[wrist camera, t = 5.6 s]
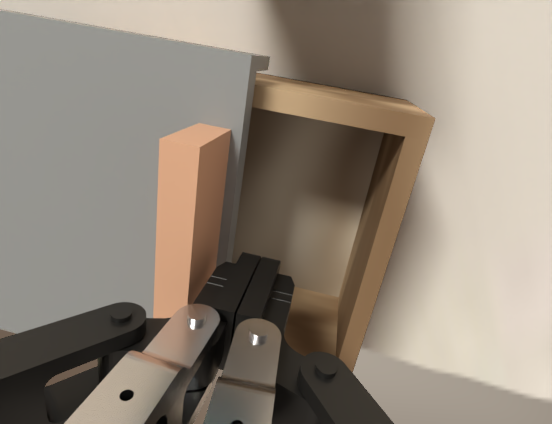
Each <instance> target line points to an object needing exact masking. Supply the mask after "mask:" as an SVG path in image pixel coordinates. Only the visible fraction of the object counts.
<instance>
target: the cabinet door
mask: <svg viewBox="0 0 552 424" xmlns="http://www.w3.org/2000/svg"><path fill="white" fill-rule="evenodd" d="M269 59H270V57H268V56H263V55H257V54H251V53H246V52H240V51H235V50H229V49H223V48H218V47H212V46H206V45H201V44H195V43H189V42H184V41H178V40H172V39H167V38H161V37H155V36H150V35H144V34H139V33H133V32H127V31H122V30H116V29H110V28H105V27H99V26H93V25H88V24H82V23H76V22H71V21H65V20H59V19H54V18H48V17H43V16H37V15H31V14H26V13H20V12H14V11H9V10H3V9H0V329H2V330H6V331H9V332H13V333H16V334H18V333H21V332H24V331H27V330H31V329H34V328H37V327H40V326H43V325H47V324H50V323H53V322H56V321H59V320H63V319H66V318H69V317H72V316H75V315H79V314H82V313H85V312H88V311H92V310H95V309H98V308H101V307H104V306H108V305H111V304H114V303H119V302H131V303H135V304H138V305H140V306H142V307H143V308H144V309H145V311H146V318H171V317H172V316H173V315H174V314H175V313H176V312H177V311H178V310H179V309H180V308H182V307H184V306H186V305H190V304H193V302H194V301H195V299H196V298H197V296H198V295H199V293H200V292H201V290H202V288H203V287H204V285H205V284H206V283H207V281H208V279H209V278H210V277H211V275H212V273H213V272H214V270H215V269H216V267H217V266H219V265H221V264H223V263H224V262H231V263H232V256H233V248H234V240H235V233H236V225H237V217H238V210H239V202H240V194H241V187H242V179H243V171H244V164H245V156H246V148H247V141H248V133H249V125H250V118H251V110H252V102H253V95H254V87H255V79H256V72H257V71H262V70H268V66H269ZM217 372H218V370H217ZM216 374H217V373H216ZM215 376H216V375H215ZM214 379H215V377H214ZM214 379H213V381H214ZM212 383H213V382H212Z"/></svg>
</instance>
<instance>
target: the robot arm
mask: <svg viewBox="0 0 552 424" xmlns="http://www.w3.org/2000/svg"><path fill="white" fill-rule="evenodd" d="M280 265H281V261H280V260H276V259H271V258H267V257H262V258H261V256H258V255H253V254H249V253H245V252H242V254H241V255H240V257H239V259H238V261H237V262H236V264H235V263H231V262H224V263H223V264H221V265H219V266H217V267H216V269H215V270H214V272H213V273H212V275H211V277H210V278H209V279H208V281H207V283H206V284H205V285H204V287H203V288H202V290H201V292H200V293H199V295H198V296H197V298H196V299H195V301H194V302H193V304H190V305H186V306H184V307H182V308H180V309H179V310H178V311H177V312H176V313H175V314H174V315H173V316H172V317H171V318H146V311H145V309H144V308H143V307H142V306H140V305H138V304H135V303H131V302H119V303H114V304H111V305H108V306H104V307H101V308H98V309H95V310H92V311H88V312H85V313H82V314H79V315H75V316H72V317H69V318H66V319H63V320H59V321H56V322H53V323H50V324H47V325H43V326H40V327H37V328H34V329H31V330H27V331H24V332H21V333H18V334H15V335H12V336H8V337H5V338H2V339H0V424H193V423H194V421H195V419H196V417H197V415H198V414H199V412H200V410H201V408H202V406H203V404H204V402H205V400H206V398H207V396H208V394H209V393H210V391H211V388H212V382H213V379H214V377H215V375H216V373H217V370H218V369H222V370H223V373H222V376H221V377H218V380H217V382H216V385H215V388H214V392H213V395H212V398H211V401H210V404H209V408H208V410H207V414H206V417H205V420H204V423H203V424H394V423H393V422H392V421H391V420H390V418H389V417H388V416H387V415H386V413H385V412H384V411H383V410H382V409H381V407H380V406H379V405H378V404H377V402H376V401H375V400H374V399H373V398H372V396H371V395H370V394H369V393H368V392H367V390H366V389H365V388H364V387H363V385H362V384H361V383H360V382H359V380H358V379H357V378H356V377H355V376H354V375H353V373H352V372H351V371H350V369H349V368H348V367H347V366H346V365H345V363H344V362H343V361H342V360H340V359H339V358H338V357H336V356H334V355H332V354H329V353H326V352H312V353H309V354H307V355H306V356H303V355H301V354H299V353H298V352H296V351H295V350H293V349H292V348H291V347H290V346H289V345H288V343H287V342H286V340H285V337H284V333H285V329H286V325H287V321H288V316H289V311H290V307H291V302H292V297H293V292H294V287H295V285H294V282H293V280H292V277H291V276H287V275H282V274H279V270H280ZM95 359H98V366H97V367H94V368H92V369H89V370H87V371H84V372H82V373H79V374H77V375H75V376H72V377H70V378H67V379H65V380H63V381H60V382H57V383H55V384H53V385H50V386H46V387H45V385H46V383H47V382H48V381H49V380H50V379H51V378H52V377H54V376H55V375H57V374H59V373H62V372H64V371H67V370H70V369H72V368H75V367H77V366H80V365H82V364H85V363H87V362H90V361H92V360H95Z"/></svg>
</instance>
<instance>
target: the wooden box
mask: <svg viewBox="0 0 552 424" xmlns="http://www.w3.org/2000/svg"><path fill="white" fill-rule="evenodd" d="M434 121H435V118H434V117H432V116H431V115H429V114H428V113H426V112H424V111H423V110H421V109H420V108H418V107H417V106H415V105H414V104H412V103H410V102H409V101H407V100H403V99H398V98H392V97H387V96H381V95H376V94H370V93H365V92H359V91H354V90H348V89H343V88H337V87H332V86H326V85H321V84H315V83H310V82H304V81H299V80H294V79H288V78H283V77H277V76H272V75H266V74H261V73H256V79H255V87H254V95H253V102H252V110H251V118H250V125H249V133H248V141H247V148H246V156H245V164H244V171H243V179H242V187H241V194H240V202H239V210H238V217H237V225H236V233H235V240H234V248H233V256H232V263H235V264H236V262H237V261H238V259H239V257H240V255H241V254H242V252H245V253H249V254H253V255H258V256H261V258H262V257H267V258H271V259H276V260H280V261H281V265H280V270H279V274H282V275H287V276H291V277H292V280H293V282H294V285H295V287H294V292H293V297H292V302H291V307H290V311H289V316H288V321H287V325H286V329H285V333H284V337H285V340H286V342H287V343H288V345H289V346H290V347H291V348H292V349H293V350H295V351H296V352H298V353H299V354H301V355H303V356H306V355H307V354H309V353H312V352H326V353H329V354H332V355H334V356H336V357H338V358H339V359H340V360H342V361H343V362H344V363H345V365H346V366H347V367H348V368H349V369H350V371H351V372H353V369H354V366H355V363H356V360H357V357H358V354H359V351H360V348H361V345H362V342H363V339H364V336H365V333H366V330H367V326H368V323H369V320H370V317H371V314H372V311H373V308H374V305H375V302H376V299H377V296H378V293H379V290H380V287H381V284H382V281H383V277H384V274H385V271H386V268H387V265H388V262H389V259H390V256H391V253H392V250H393V247H394V244H395V241H396V238H397V235H398V231H399V228H400V225H401V222H402V219H403V216H404V213H405V210H406V207H407V204H408V201H409V198H410V195H411V192H412V189H413V186H414V182H415V179H416V176H417V173H418V170H419V167H420V164H421V161H422V158H423V155H424V152H425V149H426V146H427V143H428V140H429V136H430V133H431V130H432V127H433V124H434Z"/></svg>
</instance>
